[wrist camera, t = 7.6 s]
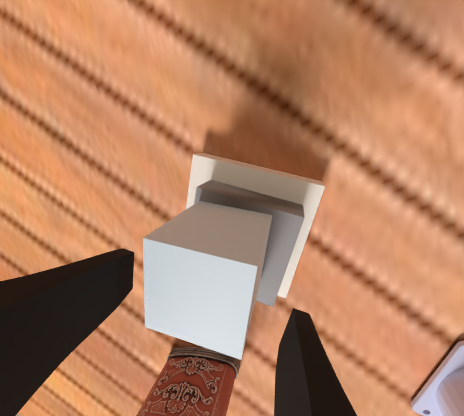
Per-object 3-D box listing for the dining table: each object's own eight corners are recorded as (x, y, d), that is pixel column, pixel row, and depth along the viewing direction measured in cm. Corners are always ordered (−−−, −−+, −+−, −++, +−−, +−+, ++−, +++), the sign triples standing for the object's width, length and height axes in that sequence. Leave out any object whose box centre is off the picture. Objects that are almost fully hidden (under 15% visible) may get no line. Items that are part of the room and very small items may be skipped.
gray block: (272, 215, 13) (257, 266, 8) (260, 280, 14) (241, 360, 9) (199, 200, 14) (142, 238, 9) (195, 263, 15) (144, 327, 10)
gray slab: (302, 204, 15) (304, 217, 12) (275, 283, 17) (273, 307, 15) (210, 179, 16) (196, 186, 13) (197, 256, 18) (182, 274, 16)
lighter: (174, 367, 26) (108, 497, 16) (167, 344, 25) (92, 467, 16) (242, 376, 23) (208, 533, 14) (236, 350, 22) (196, 500, 13)
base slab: (320, 179, 16) (325, 186, 14) (286, 279, 19) (285, 298, 17) (206, 151, 18) (193, 154, 16) (191, 248, 21) (179, 262, 19)
